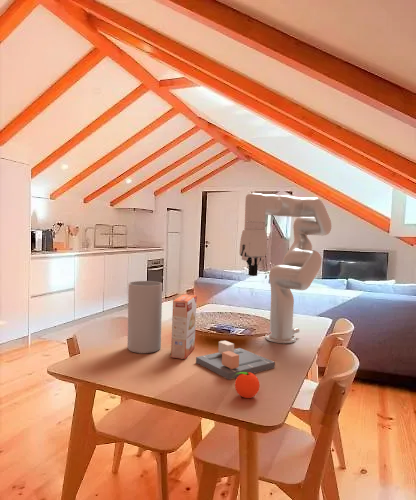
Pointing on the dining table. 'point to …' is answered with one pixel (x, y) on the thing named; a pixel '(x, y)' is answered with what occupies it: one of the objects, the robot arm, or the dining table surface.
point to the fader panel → (246, 363)
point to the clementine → (247, 384)
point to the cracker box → (183, 326)
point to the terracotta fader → (230, 359)
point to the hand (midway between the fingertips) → (252, 275)
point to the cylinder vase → (144, 316)
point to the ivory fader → (225, 347)
